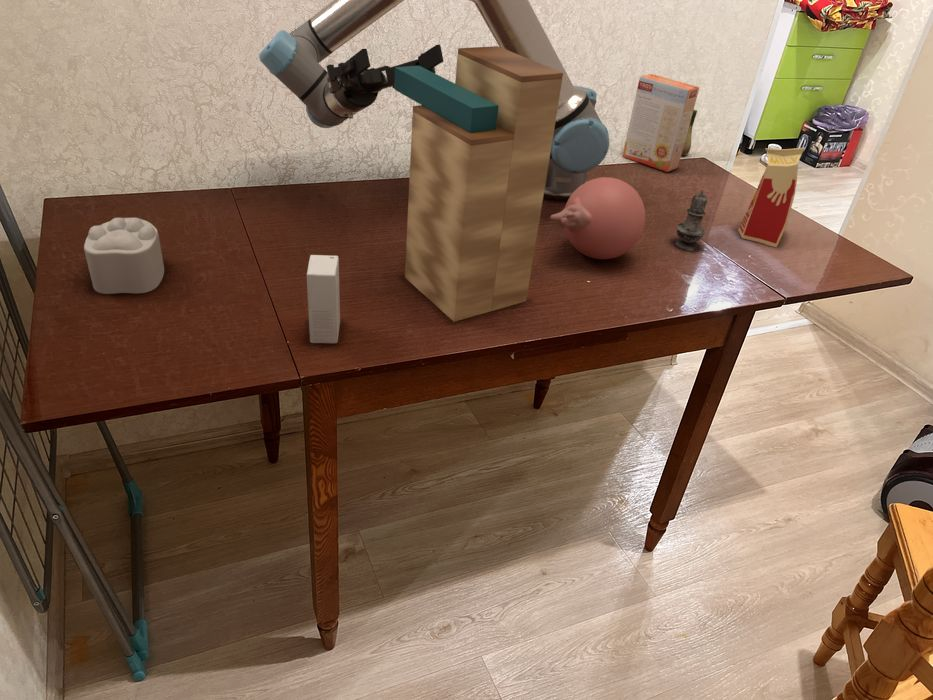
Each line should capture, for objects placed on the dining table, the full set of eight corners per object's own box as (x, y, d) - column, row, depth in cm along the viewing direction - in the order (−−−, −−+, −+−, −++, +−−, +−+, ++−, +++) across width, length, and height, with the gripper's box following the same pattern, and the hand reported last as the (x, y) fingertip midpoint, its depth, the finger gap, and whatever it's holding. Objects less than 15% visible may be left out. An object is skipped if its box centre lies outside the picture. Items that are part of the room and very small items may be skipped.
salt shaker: (701, 253, 145) (719, 198, 138) (672, 248, 145) (688, 193, 138) (699, 241, 149) (716, 187, 142) (671, 236, 150) (687, 182, 143)
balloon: (523, 244, 141) (534, 169, 132) (607, 233, 148) (623, 162, 139) (561, 281, 129) (576, 203, 121) (650, 268, 137) (671, 193, 128)
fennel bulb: (683, 150, 197) (695, 107, 191) (693, 157, 194) (705, 113, 187) (665, 151, 196) (677, 107, 189) (675, 157, 192) (687, 113, 185)
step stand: (404, 277, 125) (415, 50, 104) (474, 260, 133) (497, 45, 111) (453, 322, 115) (477, 80, 93) (526, 301, 123) (563, 72, 101)
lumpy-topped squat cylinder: (87, 294, 112) (75, 244, 107) (105, 255, 122) (95, 208, 117) (157, 293, 114) (148, 244, 109) (169, 254, 124) (162, 209, 119)
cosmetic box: (312, 321, 111) (310, 253, 105) (340, 322, 112) (339, 254, 105) (308, 343, 106) (305, 273, 100) (337, 344, 107) (336, 275, 100)
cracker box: (678, 168, 185) (701, 86, 173) (667, 173, 181) (689, 89, 169) (633, 152, 192) (651, 72, 180) (621, 156, 189) (639, 75, 177)
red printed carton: (782, 232, 157) (816, 144, 146) (778, 248, 150) (813, 156, 139) (740, 221, 160) (770, 134, 148) (734, 237, 153) (765, 146, 141)
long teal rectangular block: (394, 89, 115) (394, 67, 113) (418, 87, 117) (419, 65, 115) (470, 133, 100) (472, 108, 98) (496, 129, 103) (498, 105, 101)
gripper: (414, 105, 139) (472, 74, 121) (293, 118, 126) (338, 85, 108) (405, 66, 137) (463, 28, 119) (283, 74, 125) (327, 33, 107)
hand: (404, 55), depth 114 cm, fingers open, 13 cm apart
